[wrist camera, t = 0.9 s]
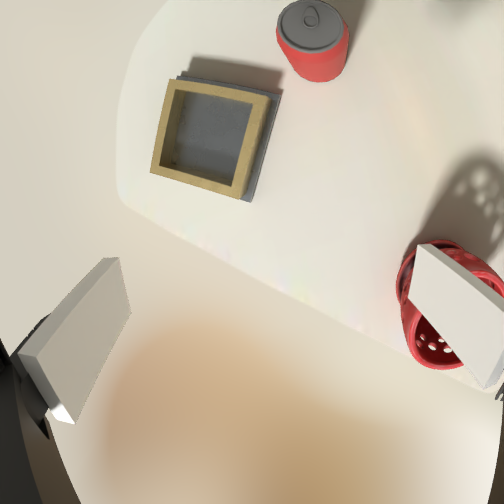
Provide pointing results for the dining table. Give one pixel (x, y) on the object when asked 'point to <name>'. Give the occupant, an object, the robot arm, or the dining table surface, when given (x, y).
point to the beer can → (313, 39)
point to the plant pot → (414, 318)
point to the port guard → (214, 135)
